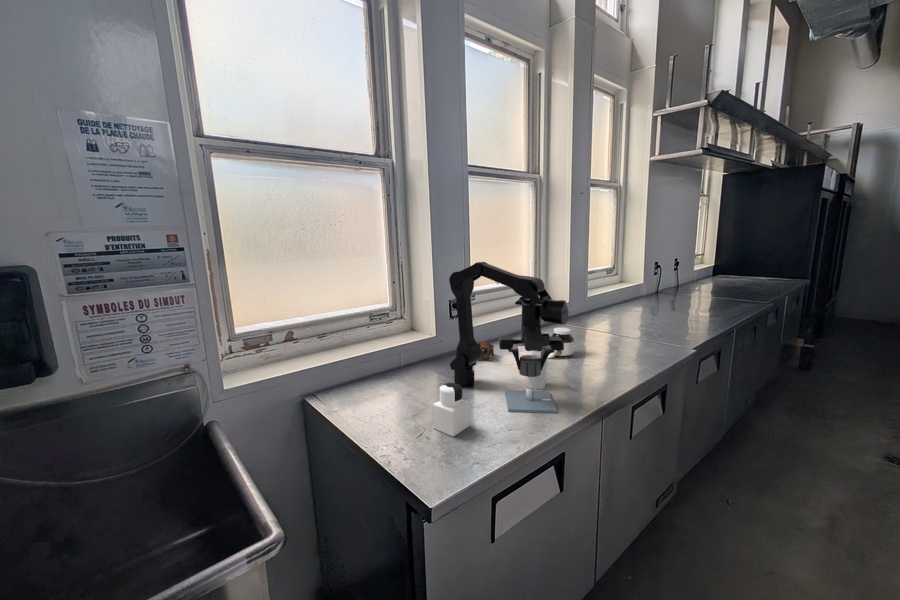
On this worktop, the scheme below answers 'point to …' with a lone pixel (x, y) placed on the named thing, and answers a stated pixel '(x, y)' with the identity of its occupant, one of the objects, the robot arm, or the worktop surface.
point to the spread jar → (568, 343)
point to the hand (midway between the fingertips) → (529, 370)
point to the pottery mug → (486, 350)
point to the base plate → (529, 401)
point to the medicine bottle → (451, 410)
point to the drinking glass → (538, 378)
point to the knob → (530, 366)
